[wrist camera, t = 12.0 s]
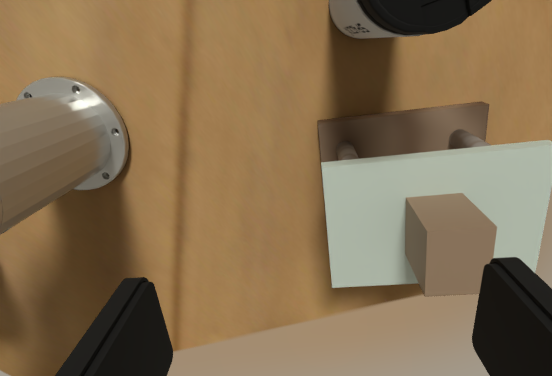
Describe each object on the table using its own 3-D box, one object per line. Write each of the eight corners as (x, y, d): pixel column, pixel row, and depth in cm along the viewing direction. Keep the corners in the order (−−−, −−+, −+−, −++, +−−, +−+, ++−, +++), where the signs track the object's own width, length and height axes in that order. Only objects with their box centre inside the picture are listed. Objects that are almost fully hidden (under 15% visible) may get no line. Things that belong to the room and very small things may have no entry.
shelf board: (331, 278, 30) (336, 333, 25) (321, 162, 26) (325, 195, 21) (525, 268, 28) (580, 324, 23) (548, 139, 24) (622, 170, 18)
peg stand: (327, 229, 40) (333, 288, 31) (317, 120, 35) (321, 150, 26) (470, 218, 38) (525, 278, 29) (481, 101, 33) (552, 126, 24)
